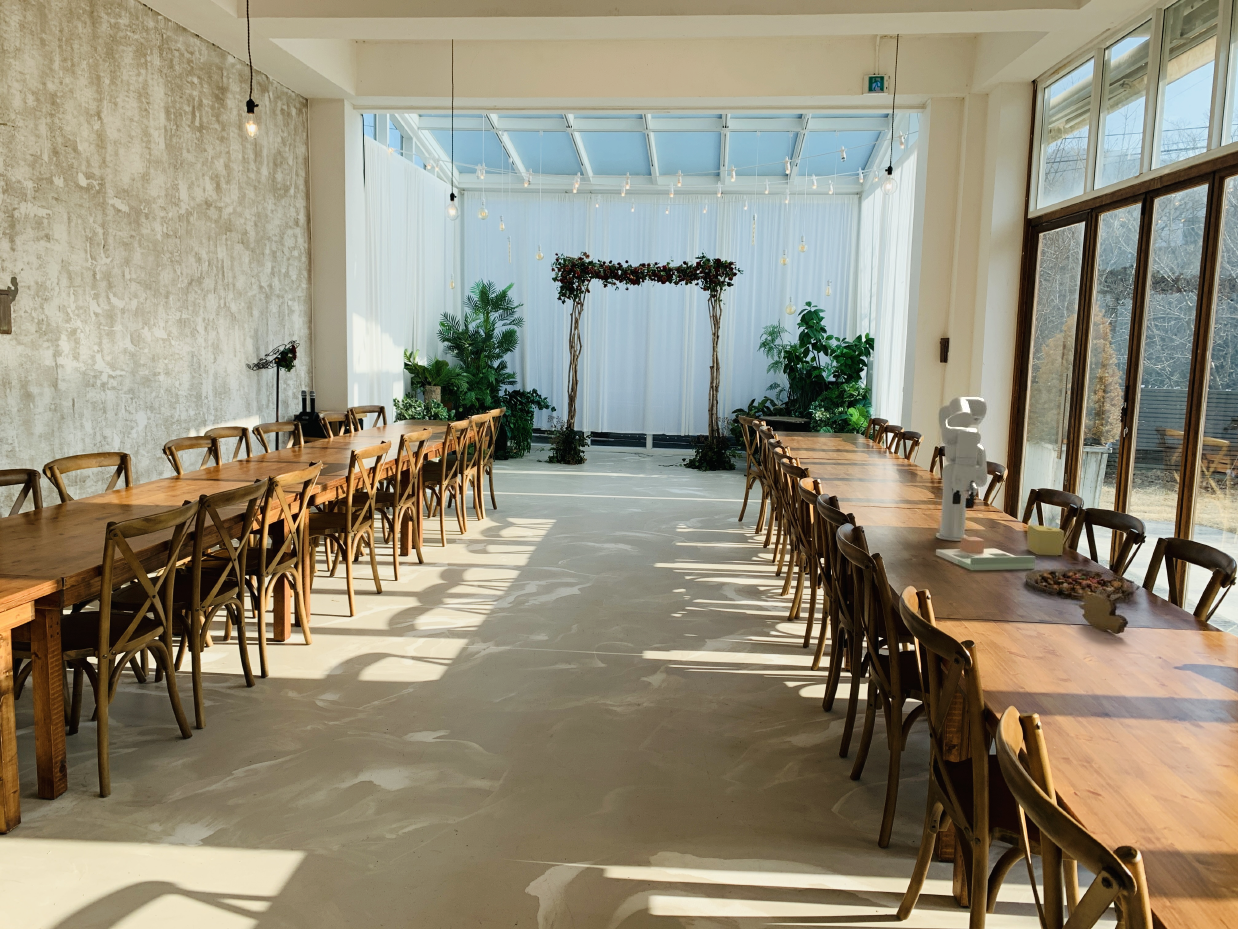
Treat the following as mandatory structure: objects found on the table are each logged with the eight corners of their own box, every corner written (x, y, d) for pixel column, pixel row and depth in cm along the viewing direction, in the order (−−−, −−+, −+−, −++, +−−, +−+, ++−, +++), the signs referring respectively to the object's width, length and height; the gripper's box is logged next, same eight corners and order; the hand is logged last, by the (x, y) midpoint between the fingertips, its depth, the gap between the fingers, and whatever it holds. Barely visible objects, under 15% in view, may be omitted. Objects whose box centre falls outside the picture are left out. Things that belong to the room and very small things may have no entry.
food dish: (1154, 613, 271) (1156, 588, 270) (1038, 606, 278) (1040, 582, 277) (1115, 580, 305) (1117, 558, 304) (1012, 575, 312) (1014, 554, 311)
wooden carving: (1132, 638, 242) (1135, 602, 241) (1119, 639, 241) (1122, 603, 240) (1085, 620, 258) (1088, 587, 257) (1072, 621, 257) (1075, 588, 255)
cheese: (1052, 550, 352) (1054, 525, 350) (1063, 556, 341) (1065, 531, 340) (1025, 549, 353) (1027, 524, 351) (1035, 555, 342) (1037, 530, 341)
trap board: (935, 554, 338) (936, 543, 338) (994, 553, 343) (995, 542, 342) (971, 570, 315) (972, 558, 314) (1034, 568, 319) (1035, 556, 319)
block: (960, 549, 339) (961, 537, 338) (974, 549, 340) (975, 536, 339) (969, 553, 333) (970, 540, 332) (983, 553, 334) (984, 540, 333)
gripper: (944, 458, 348) (941, 502, 350) (970, 464, 331) (966, 510, 333) (962, 458, 350) (958, 502, 352) (988, 464, 333) (984, 510, 335)
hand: (962, 506), depth 343 cm, fingers open, 8 cm apart
